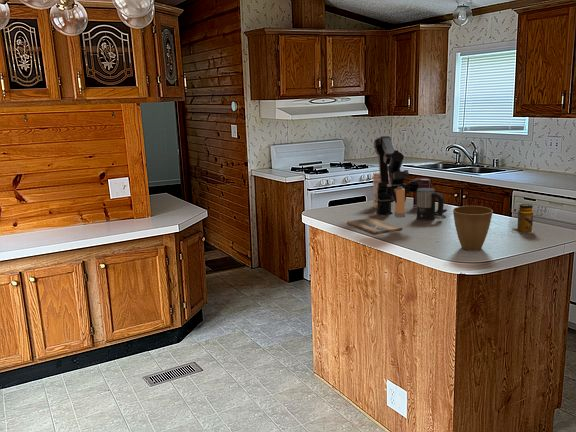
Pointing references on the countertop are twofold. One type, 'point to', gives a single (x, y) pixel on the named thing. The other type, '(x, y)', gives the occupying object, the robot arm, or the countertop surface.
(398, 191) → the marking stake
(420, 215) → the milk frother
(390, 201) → the robot arm
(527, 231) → the condiment
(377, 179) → the coffeecake box
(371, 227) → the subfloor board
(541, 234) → the countertop surface
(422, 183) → the supplement box
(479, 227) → the plant pot
